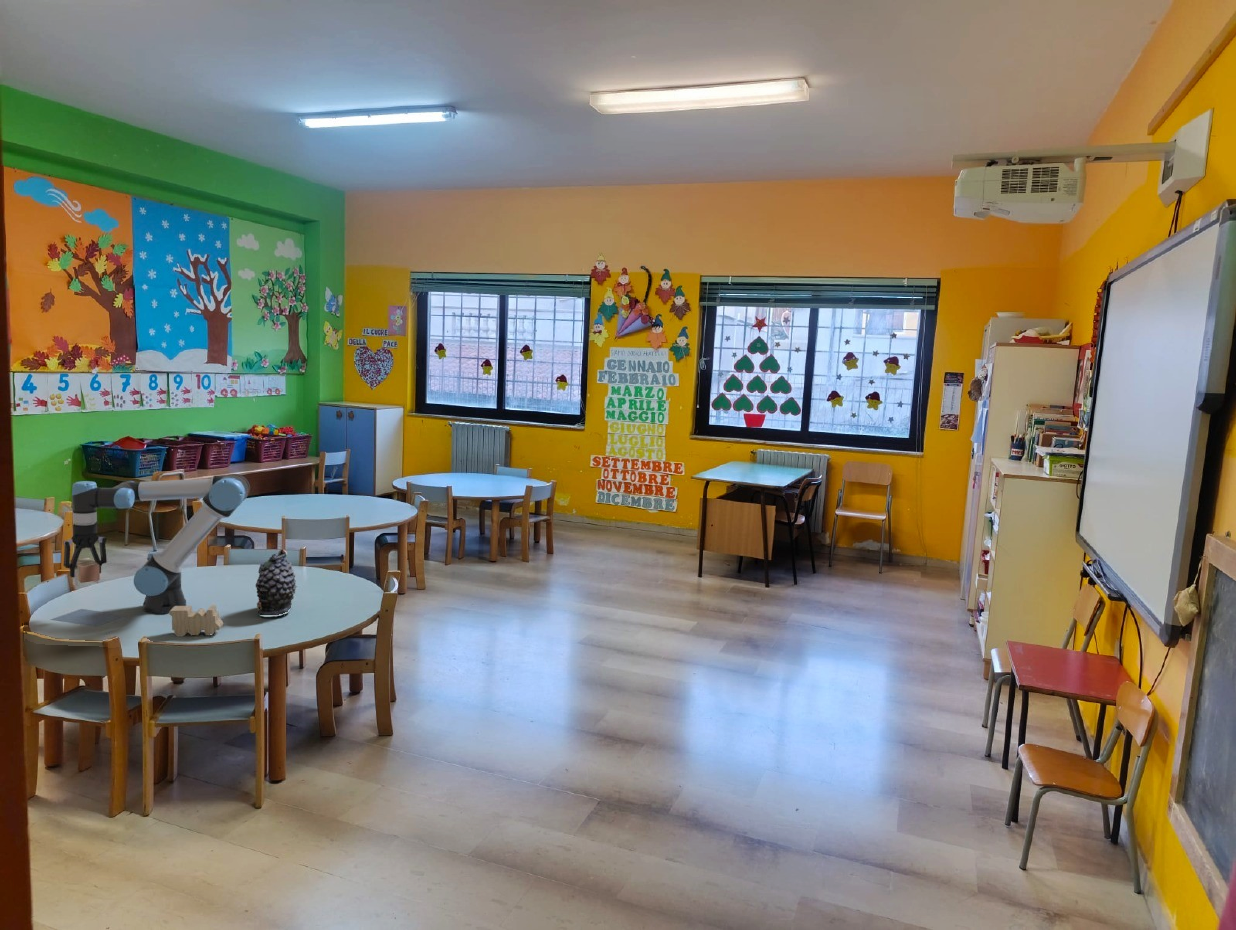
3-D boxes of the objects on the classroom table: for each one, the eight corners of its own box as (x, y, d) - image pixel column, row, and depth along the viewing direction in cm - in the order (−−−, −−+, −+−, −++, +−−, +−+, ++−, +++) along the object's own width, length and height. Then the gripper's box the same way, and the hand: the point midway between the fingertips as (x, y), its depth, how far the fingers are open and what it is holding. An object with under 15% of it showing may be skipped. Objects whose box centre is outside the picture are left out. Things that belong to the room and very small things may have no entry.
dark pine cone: (260, 604, 335) (260, 545, 332) (298, 604, 339) (299, 545, 336) (250, 620, 315) (251, 558, 312) (291, 620, 319) (292, 558, 316)
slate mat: (126, 616, 311) (126, 615, 311) (96, 627, 297) (96, 626, 297) (81, 609, 314) (81, 608, 314) (50, 620, 301) (50, 619, 301)
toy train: (219, 636, 297) (219, 609, 296) (168, 636, 293) (168, 610, 292) (223, 631, 302) (223, 605, 301) (173, 631, 298) (173, 605, 297)
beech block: (88, 557, 307) (99, 564, 300) (88, 573, 308) (99, 580, 300) (70, 560, 303) (80, 567, 295) (70, 575, 304) (81, 583, 296)
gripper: (110, 518, 308) (110, 577, 311) (51, 524, 294) (52, 585, 297) (117, 522, 304) (117, 581, 307) (57, 527, 289) (58, 590, 292)
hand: (85, 583), depth 302 cm, fingers closed on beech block, 6 cm apart
